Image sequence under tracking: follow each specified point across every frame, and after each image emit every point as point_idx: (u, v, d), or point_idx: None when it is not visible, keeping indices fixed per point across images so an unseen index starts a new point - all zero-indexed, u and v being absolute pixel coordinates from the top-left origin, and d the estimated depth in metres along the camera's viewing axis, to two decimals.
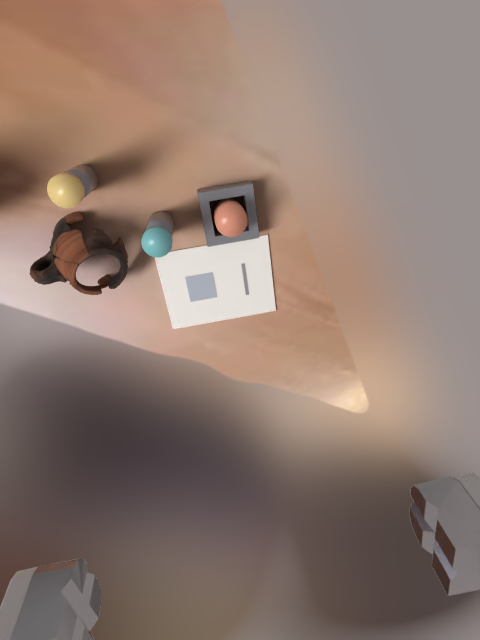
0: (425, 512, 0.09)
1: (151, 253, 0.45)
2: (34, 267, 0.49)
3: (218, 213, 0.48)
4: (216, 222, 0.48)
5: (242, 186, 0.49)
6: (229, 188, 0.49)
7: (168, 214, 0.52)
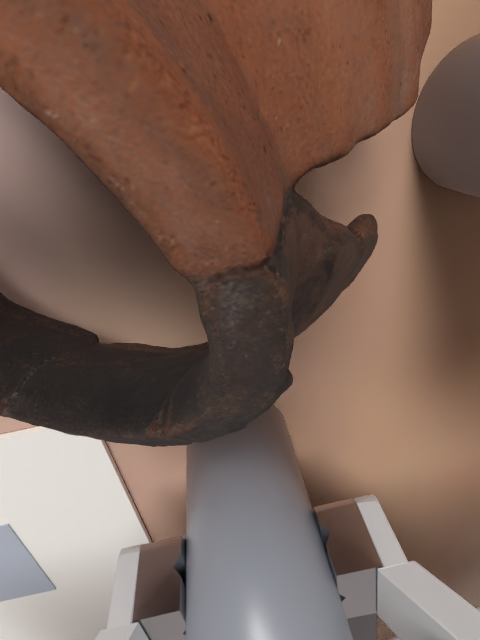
0: (321, 535, 0.09)
1: None
2: None
3: None
4: None
5: None
6: None
7: None
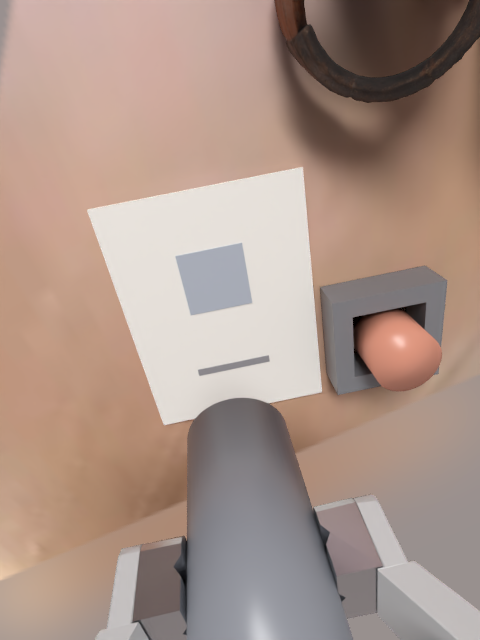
0: (321, 535, 0.09)
1: None
2: None
3: (429, 338, 0.22)
4: (412, 336, 0.22)
5: None
6: (440, 337, 0.25)
7: None
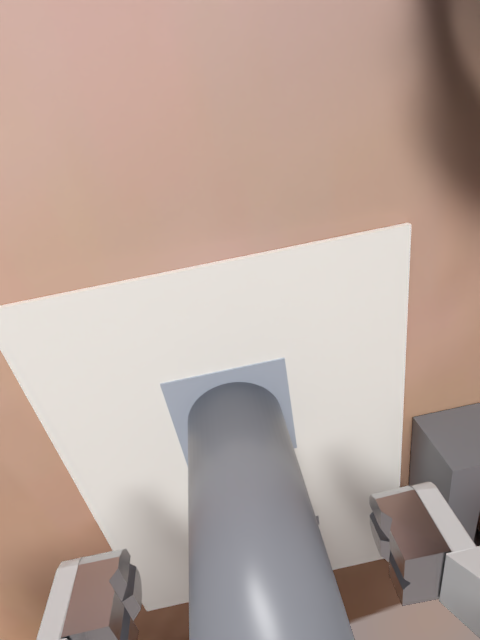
0: (381, 522, 0.09)
1: None
2: None
3: None
4: None
5: None
6: None
7: None
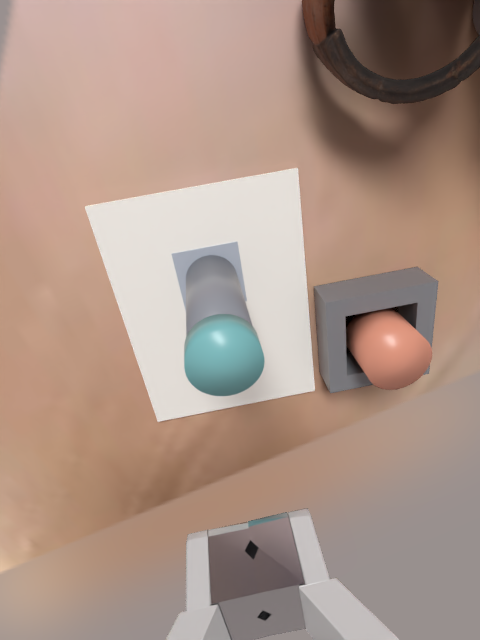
0: (253, 550, 0.09)
1: (196, 351, 0.16)
2: None
3: (420, 338, 0.22)
4: (403, 335, 0.22)
5: None
6: (430, 337, 0.26)
7: None
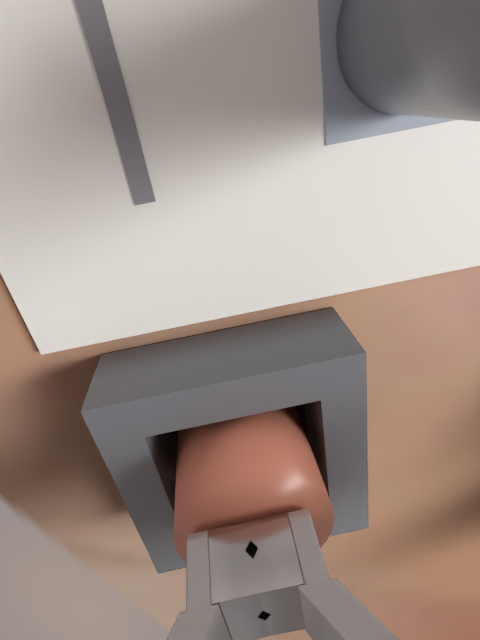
0: (252, 550, 0.09)
1: None
2: None
3: None
4: (328, 519, 0.10)
5: None
6: None
7: (358, 92, 0.09)
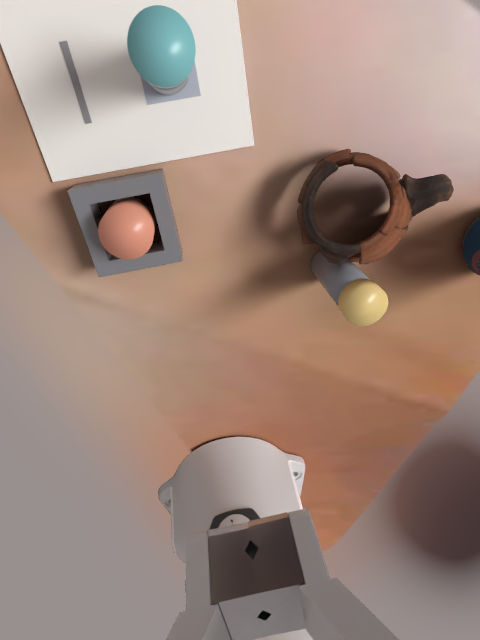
0: (253, 550, 0.09)
1: (177, 21, 0.19)
2: None
3: (149, 245, 0.30)
4: (151, 231, 0.30)
5: (114, 272, 0.32)
6: (134, 269, 0.32)
7: None
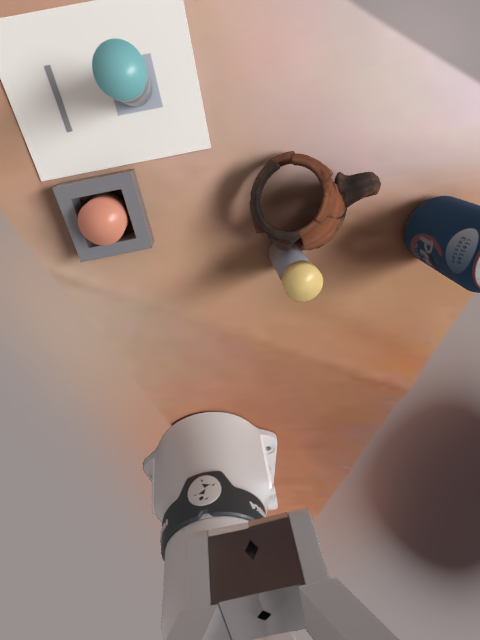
0: (253, 550, 0.09)
1: (132, 51, 0.25)
2: (372, 194, 0.36)
3: (121, 233, 0.35)
4: (122, 221, 0.35)
5: (94, 258, 0.38)
6: (111, 254, 0.38)
7: None
